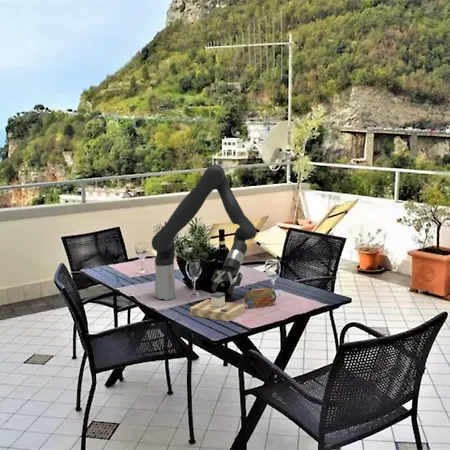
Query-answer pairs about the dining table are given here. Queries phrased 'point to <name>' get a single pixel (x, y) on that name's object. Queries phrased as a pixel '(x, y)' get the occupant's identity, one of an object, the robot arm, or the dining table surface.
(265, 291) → the tin
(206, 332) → the dining table surface
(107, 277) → the dining table surface
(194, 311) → the socket board
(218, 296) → the plug
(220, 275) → the robot arm
